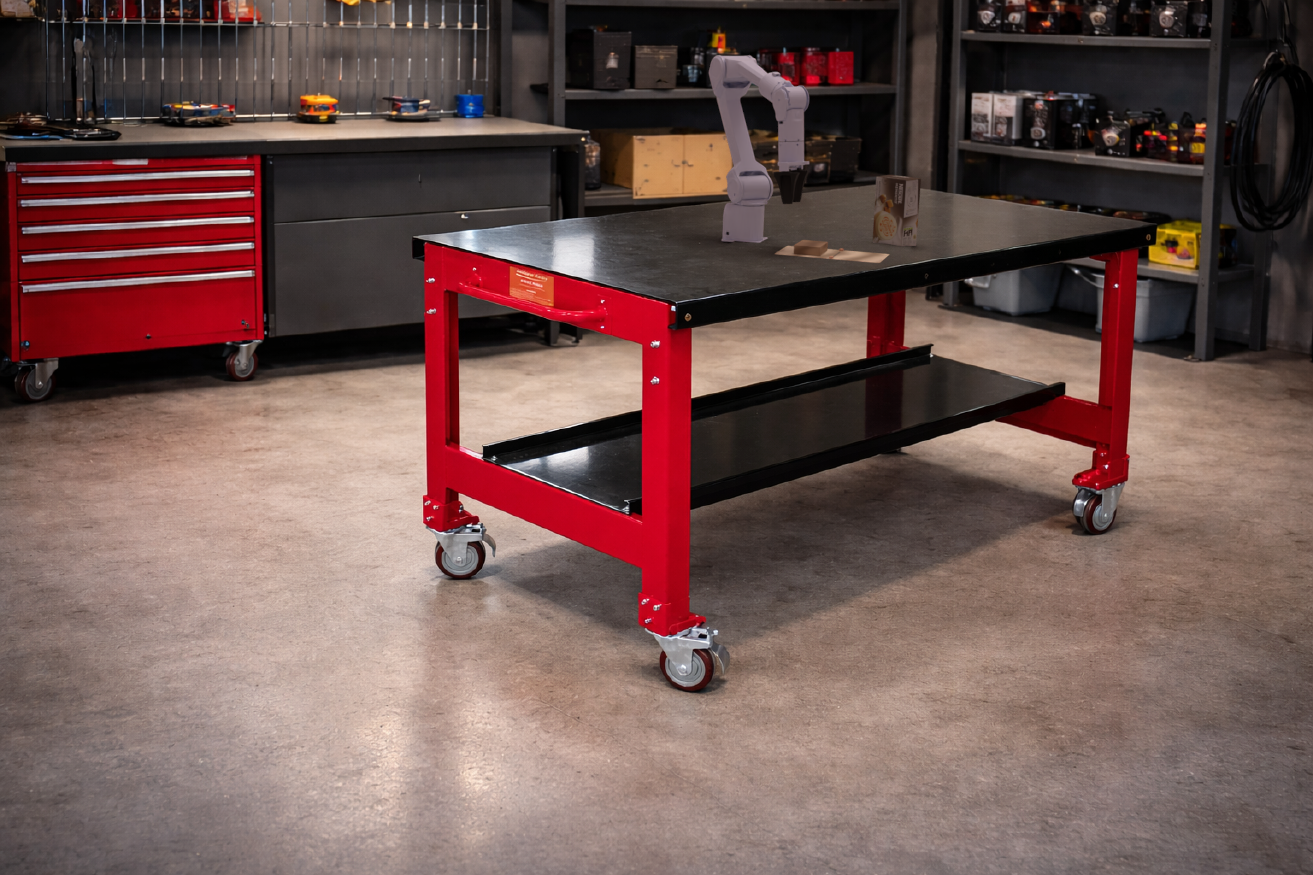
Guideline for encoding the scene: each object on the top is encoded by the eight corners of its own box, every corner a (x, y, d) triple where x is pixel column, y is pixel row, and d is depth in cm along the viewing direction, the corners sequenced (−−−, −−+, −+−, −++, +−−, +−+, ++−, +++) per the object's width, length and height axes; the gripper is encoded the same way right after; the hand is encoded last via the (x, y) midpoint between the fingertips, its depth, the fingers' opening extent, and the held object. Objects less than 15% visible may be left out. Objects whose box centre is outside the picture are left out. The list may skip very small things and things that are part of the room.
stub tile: (793, 254, 308) (794, 245, 307) (801, 248, 315) (802, 239, 314) (819, 256, 306) (820, 247, 305) (827, 250, 313) (827, 241, 312)
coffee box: (917, 246, 326) (923, 178, 321) (901, 248, 321) (907, 180, 316) (886, 240, 332) (891, 174, 327) (870, 243, 328) (875, 176, 323)
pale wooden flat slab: (773, 256, 307) (774, 252, 307) (787, 248, 318) (787, 244, 318) (879, 265, 300) (879, 261, 300) (889, 256, 311) (889, 252, 310)
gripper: (801, 141, 297) (801, 204, 300) (815, 140, 311) (816, 201, 313) (769, 142, 300) (770, 205, 302) (785, 141, 313) (786, 201, 316)
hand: (791, 203), depth 308 cm, fingers open, 7 cm apart
